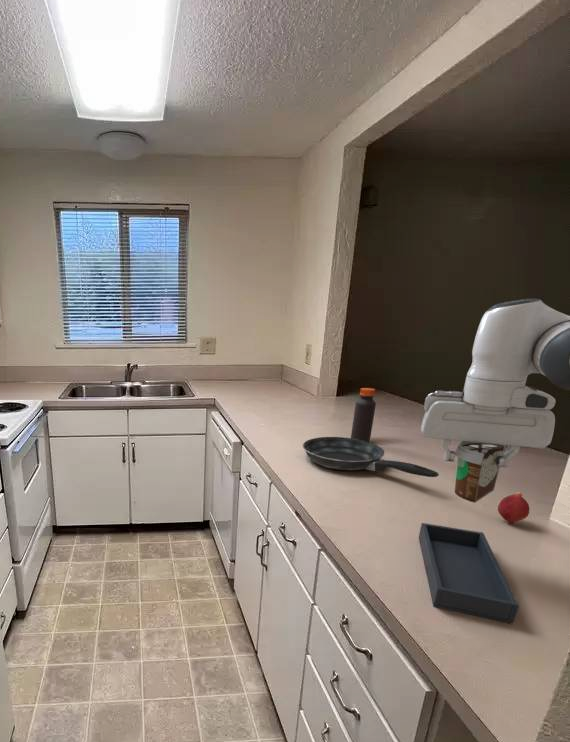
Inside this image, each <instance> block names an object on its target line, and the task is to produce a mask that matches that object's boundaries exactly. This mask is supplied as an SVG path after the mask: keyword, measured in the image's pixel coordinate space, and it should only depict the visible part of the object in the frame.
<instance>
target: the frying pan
mask: <svg viewBox="0 0 570 742" xmlns="http://www.w3.org/2000/svg"><path fill="white" fill-rule="evenodd" d="M302 449H303V450H304V451H305V453H306V456H307V457H308V458H309V459H310V460H311V461H313V463H315V464H317V465H319V466H322V467H325V468H327V469H328V468H329V469H331V470H339V471H360V470H367V471H374V472H375V473H382V472H385V471H386V470H387V469H388V468H389V469H395V470H397V471H400V472H404V473H406V474H411V475H416V476H422V477H428V478H437V477H439V473H438V471H436V470H433V469H430V468H427V467H426V466H421V465H419V464H415V463H412V462H411V463H410V462H406V461H405V462H404V461H399V460H384V459H381V458H382V457H384V456H385V450H384V449H383V448H382V447H380V446H379V445H377V444H374V443H372V442H371V441H370V442H366V441H363V440H358V439H352V438H351V437H342V436H321V437H315V438H310V439H307V440H305V441H304V442H303V443H302ZM380 459H381V460H380Z"/></svg>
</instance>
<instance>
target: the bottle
mask: <svg viewBox="0 0 570 742" xmlns="http://www.w3.org/2000/svg"><path fill="white" fill-rule="evenodd" d="M359 390H360V391H359V397H360V398H359V399H357V400H356V401H355V406H354V412H353V420H352V426H351V432H350V433H351V434H350V438H352V439H358V440H363V441H366V442H370V443H371V437H372V431H373V424H374V418H375V412H376V406H377V403H376V401H375V400H374V398H375V394H376V388H371V387H361V388H360V389H359Z"/></svg>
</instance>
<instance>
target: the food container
mask: <svg viewBox="0 0 570 742" xmlns="http://www.w3.org/2000/svg"><path fill="white" fill-rule="evenodd" d="M506 447H507V446H506V445H500V444H489V443H479V442H468V441H460V443H459V444H458V446H457V448H456V449H455V451H454V452H455V457H456V458H457V466H456V474H455V483H454V493H455V495H456V496H457V497H459V498H461V499H463V500H465V501H467V502H471V503H474V504H476V503H477V502H479V501H480V500H481V499H483V498H485V497H486V496H488V495H489V494H491V493H492V492H494V491H495V488H496V483H497V479H498V476H499V473H500V468H501V467H497V465H496V461H497V456H503V455H504V454H505V453H506ZM504 452H505V453H504Z"/></svg>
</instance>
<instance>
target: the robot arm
mask: <svg viewBox="0 0 570 742" xmlns="http://www.w3.org/2000/svg"><path fill="white" fill-rule="evenodd" d="M471 356H472V362H471V365H470V367H469V369H468V371H467V372H466V377H465V381H464V386H463V391H461V390H460V391H456V390H446V391H445V390H442V389H441V390H440V389H439V390H435V391H433V392H431V393H429V394H427V395H426V397H425V399H424V403H423V410H424V416H423V418H422V420H421V421H422V422H421V426H420V433H421V434H422V436H423V437H424V438H426V439H435V440H436V439H437V440H440V443H441V445H442V447H443V450H444V456H443V460H444V462H455V458H456V455H455V451H454V450H450V448H449V446H451V444H452V442H453V441H458V442H462V441H468V442H479V443H489V444H500V445H507V446H506V447H507V449H508V450H507V451H505V453H503V456H497V461H496V465H497V467H500V468H507V467H508V465H509V462H510V460H511V459H512V458H514V457H515V456H516V455H517V454H519V453H520V450H521V447H524V448H536V449H545V448H546V447H548V446H549V445H551V443H552V440H553V436H554V431H555V426H556V425H555V424H556V416H555V413H553V411H552V409H553V408H554V407H555V405H556V402H557V401H556V398H555V397H553V396H552V395H551V394H549V393H547V392H545V391H543V390H539V389H537V388H534V387H532V386H527V385H526V384H527V379H528V377H529V375H531V374H541V375H543V376H544V377H546V378H547V379H548V380H549V382H550V383H552V384H553V385H554V386H556V387H559V388H560V389H563V390H566V391H570V315H569V314H565V313H563V312H561V311H558V310H556V309H554V308H552V307H550V306H549V305H547V304H546V303H544V302H543V301H542V300H541V299H539V298H524V299H516V300H510V301H503V302H500V303H496V304H495V305H493V306H491V307H490V308H488V309H487V310H486V311H485V312H484V314H483V315H482V317H481V319H480V322H479V325H478V327H477V330H476V334H475V338H474V342H473V345H472V350H471Z"/></svg>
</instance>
